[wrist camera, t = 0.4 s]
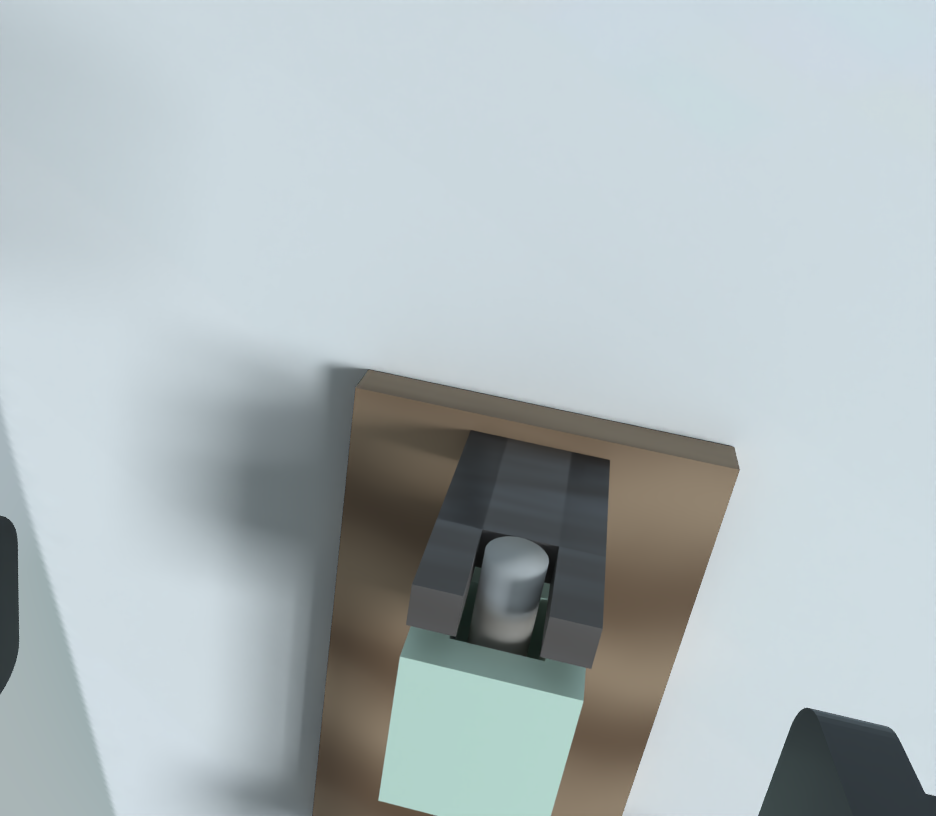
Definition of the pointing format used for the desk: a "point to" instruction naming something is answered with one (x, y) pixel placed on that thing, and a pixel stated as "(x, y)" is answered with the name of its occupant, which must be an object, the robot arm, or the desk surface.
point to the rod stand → (513, 568)
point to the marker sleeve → (479, 724)
